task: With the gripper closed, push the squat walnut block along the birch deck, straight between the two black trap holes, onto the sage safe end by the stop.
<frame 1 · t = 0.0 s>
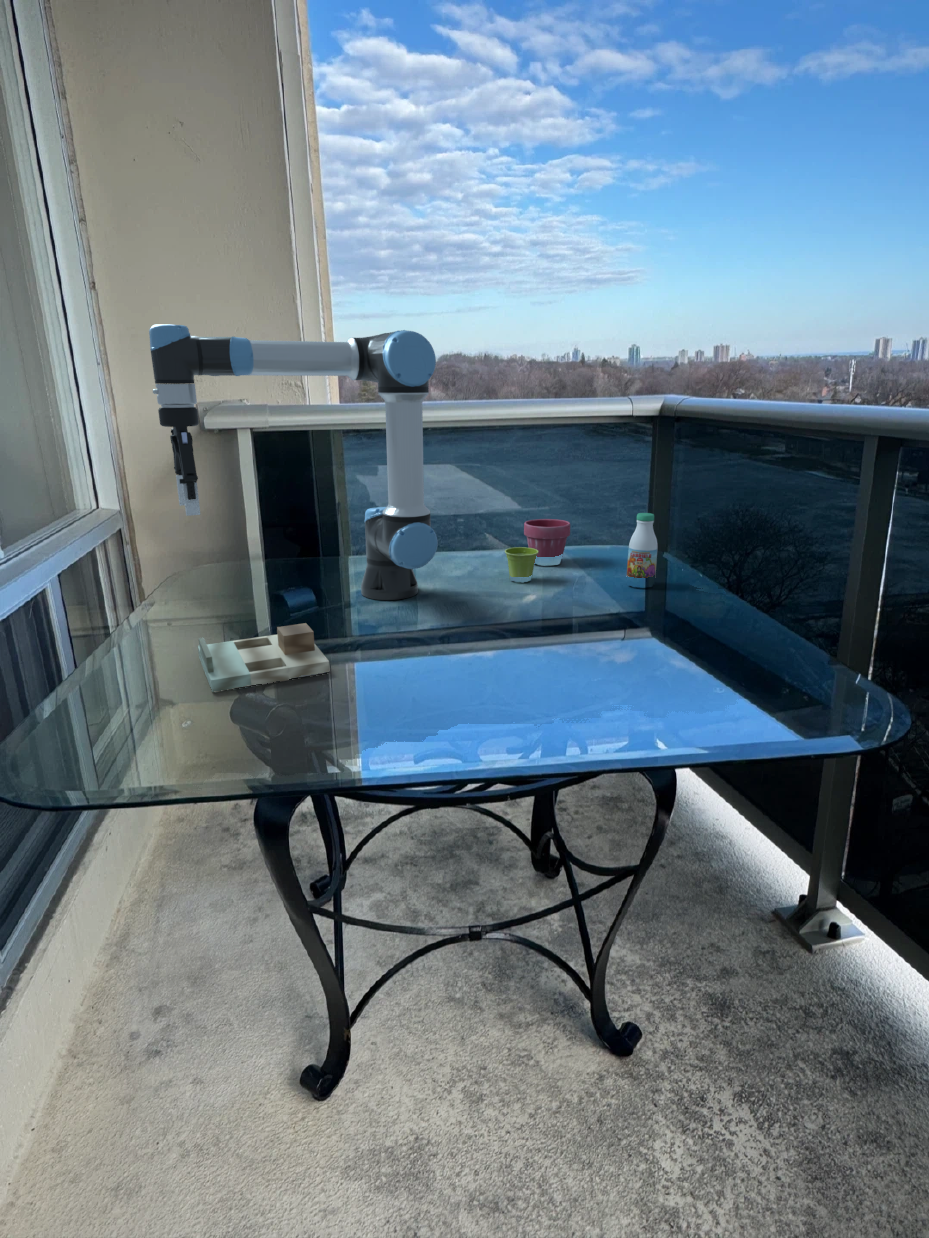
hand: (189, 510, 157), 28 cm above the table, tool pointing down, fingers open, 13 cm apart
block: (296, 647, 150), point 2 cm above the table, touching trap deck
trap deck: (262, 664, 148), on the table
plant pot 2: (520, 581, 209), on the table
plant pot: (545, 563, 228), on the table
milk bottle: (640, 586, 204), on the table
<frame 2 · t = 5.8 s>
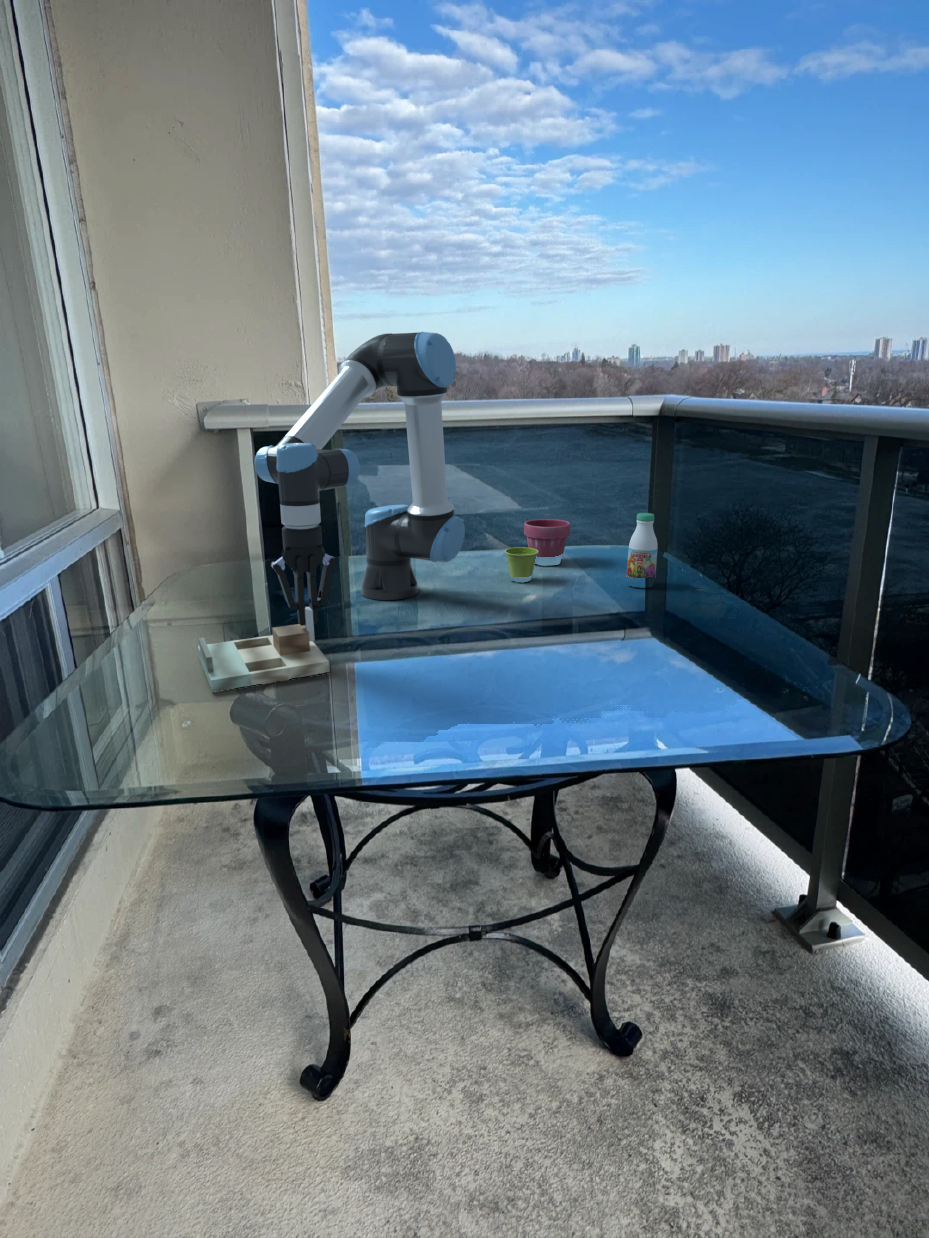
hand: (309, 639, 150), 4 cm above the table, tool pointing down, fingers closed
block: (291, 648, 149), point 3 cm above the table, touching gripper
everything else where it was.
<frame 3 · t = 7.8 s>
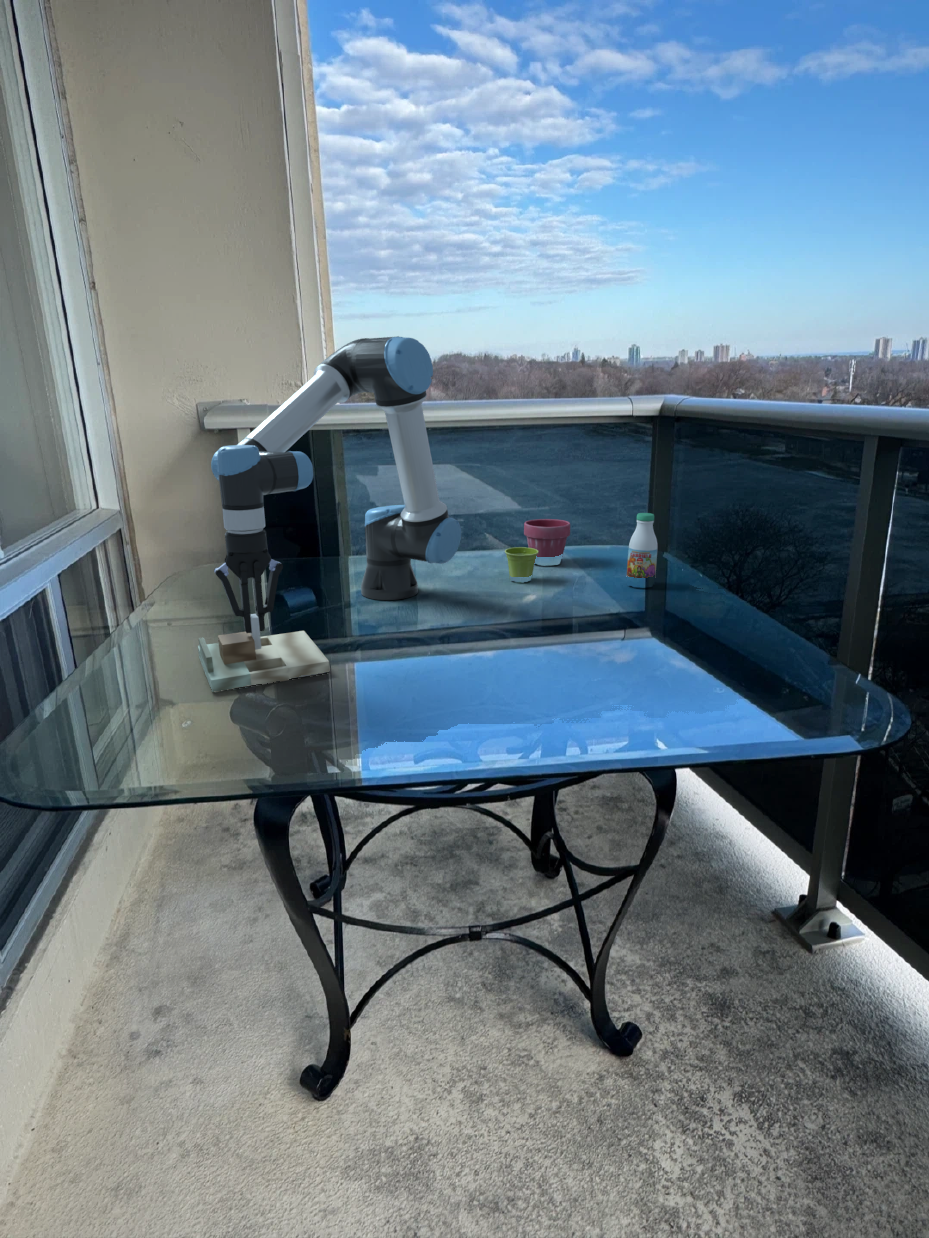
hand: (256, 647, 146), 4 cm above the table, tool pointing down, fingers closed
block: (237, 656, 145), point 3 cm above the table, touching gripper
everything else where it was.
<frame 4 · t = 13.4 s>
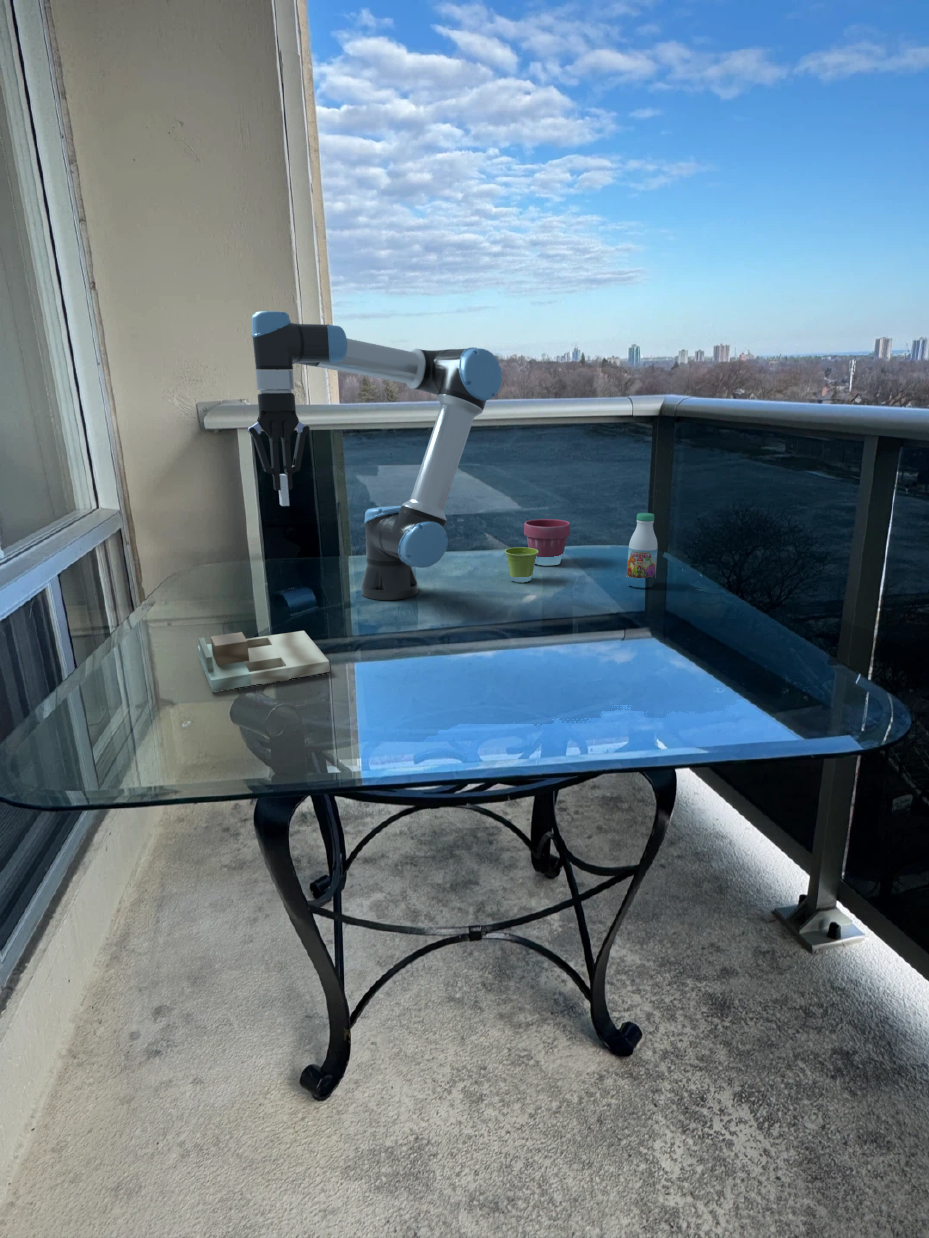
hand: (284, 504, 161), 28 cm above the table, tool pointing down, fingers closed
block: (230, 657, 145), point 2 cm above the table, touching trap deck
everything else where it was.
at the end: block 1.2 cm from the target spot on the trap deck, point 2.5 cm above the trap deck's base; block tilted 0° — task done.
